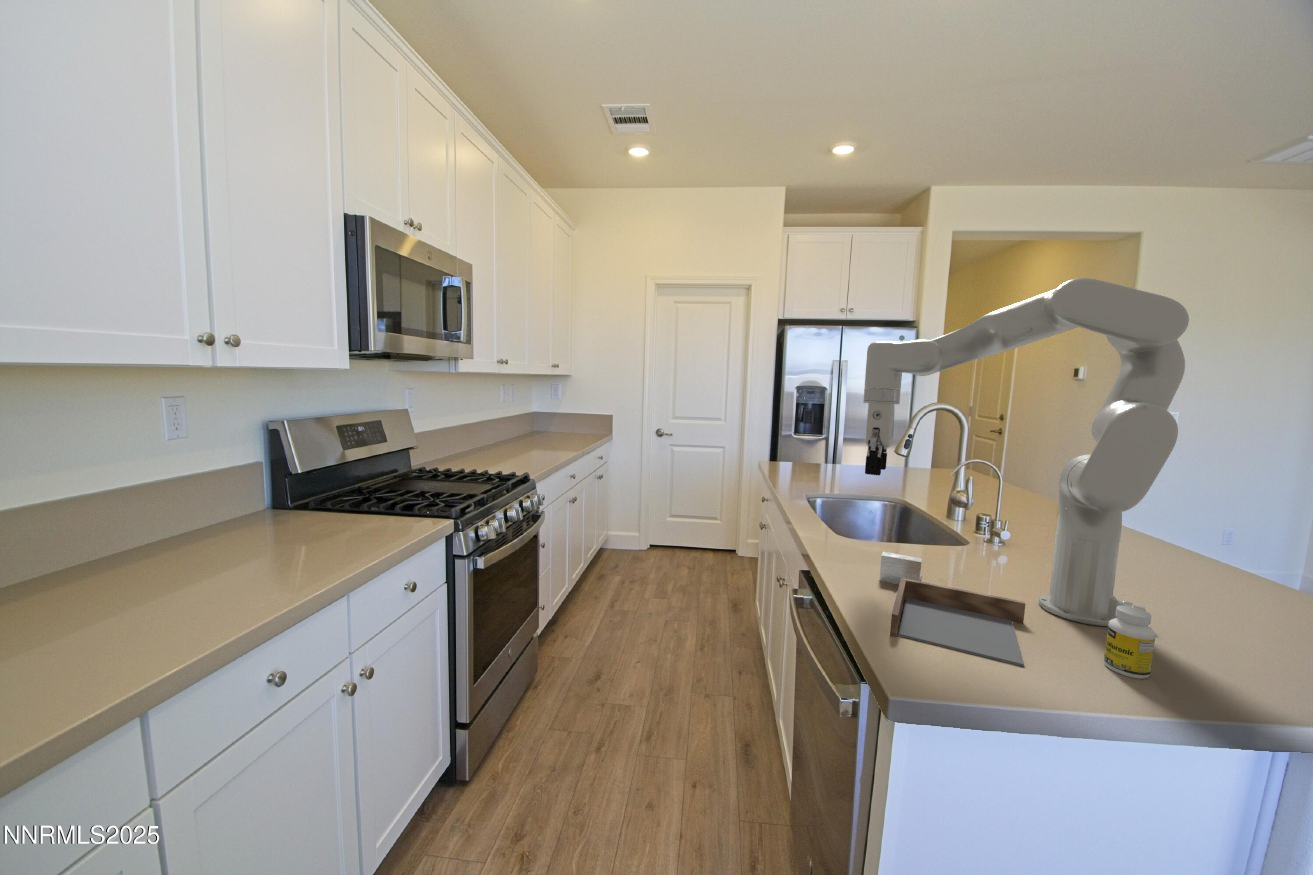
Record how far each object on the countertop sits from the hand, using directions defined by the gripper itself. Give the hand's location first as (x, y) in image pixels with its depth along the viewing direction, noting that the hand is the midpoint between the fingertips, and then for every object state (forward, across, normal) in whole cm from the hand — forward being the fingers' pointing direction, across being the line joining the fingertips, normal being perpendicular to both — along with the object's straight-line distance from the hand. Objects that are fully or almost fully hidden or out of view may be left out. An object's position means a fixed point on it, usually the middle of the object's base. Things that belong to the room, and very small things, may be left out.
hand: (875, 471), depth 116 cm
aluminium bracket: (+24, +2, -7) cm, 25 cm away
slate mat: (+24, -20, -18) cm, 36 cm away
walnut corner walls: (+24, -20, -18) cm, 36 cm away
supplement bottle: (+24, -21, -41) cm, 52 cm away
